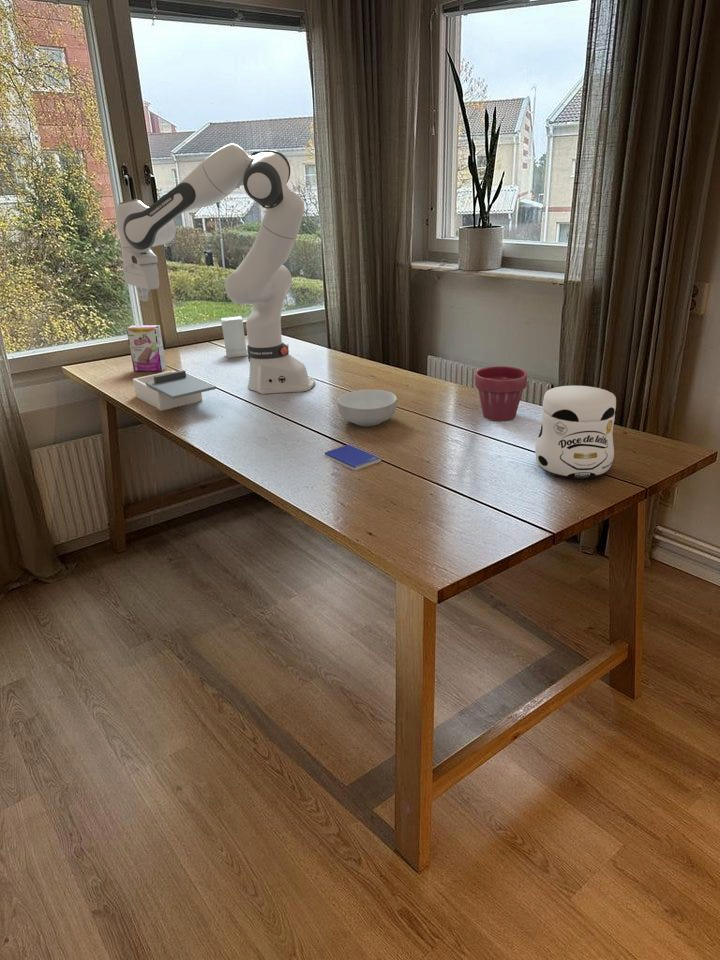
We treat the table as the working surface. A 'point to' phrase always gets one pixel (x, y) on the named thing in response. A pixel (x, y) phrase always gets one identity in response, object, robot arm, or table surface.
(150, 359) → the candy bar box
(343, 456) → the blue book
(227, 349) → the skincare box
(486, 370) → the plant pot
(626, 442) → the table surface
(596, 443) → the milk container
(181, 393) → the grey flat rectangular panel
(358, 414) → the cereal bowl
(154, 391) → the base
